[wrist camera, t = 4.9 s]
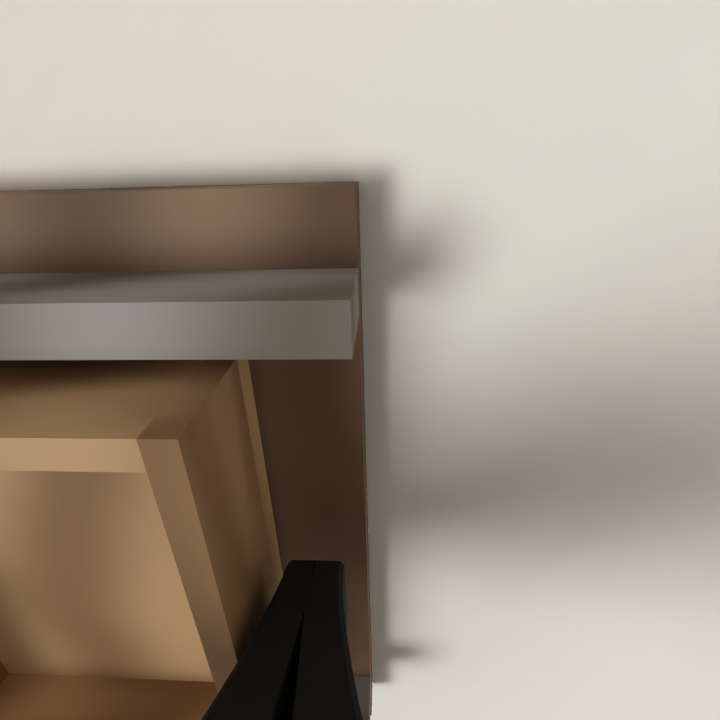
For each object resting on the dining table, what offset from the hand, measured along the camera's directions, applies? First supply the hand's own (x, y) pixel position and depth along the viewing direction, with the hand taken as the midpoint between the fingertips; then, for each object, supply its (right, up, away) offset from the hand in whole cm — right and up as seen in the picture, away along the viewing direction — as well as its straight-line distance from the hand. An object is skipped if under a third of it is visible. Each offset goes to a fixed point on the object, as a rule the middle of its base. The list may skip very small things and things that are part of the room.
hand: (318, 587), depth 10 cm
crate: (-6, +1, +1) cm, 6 cm away
